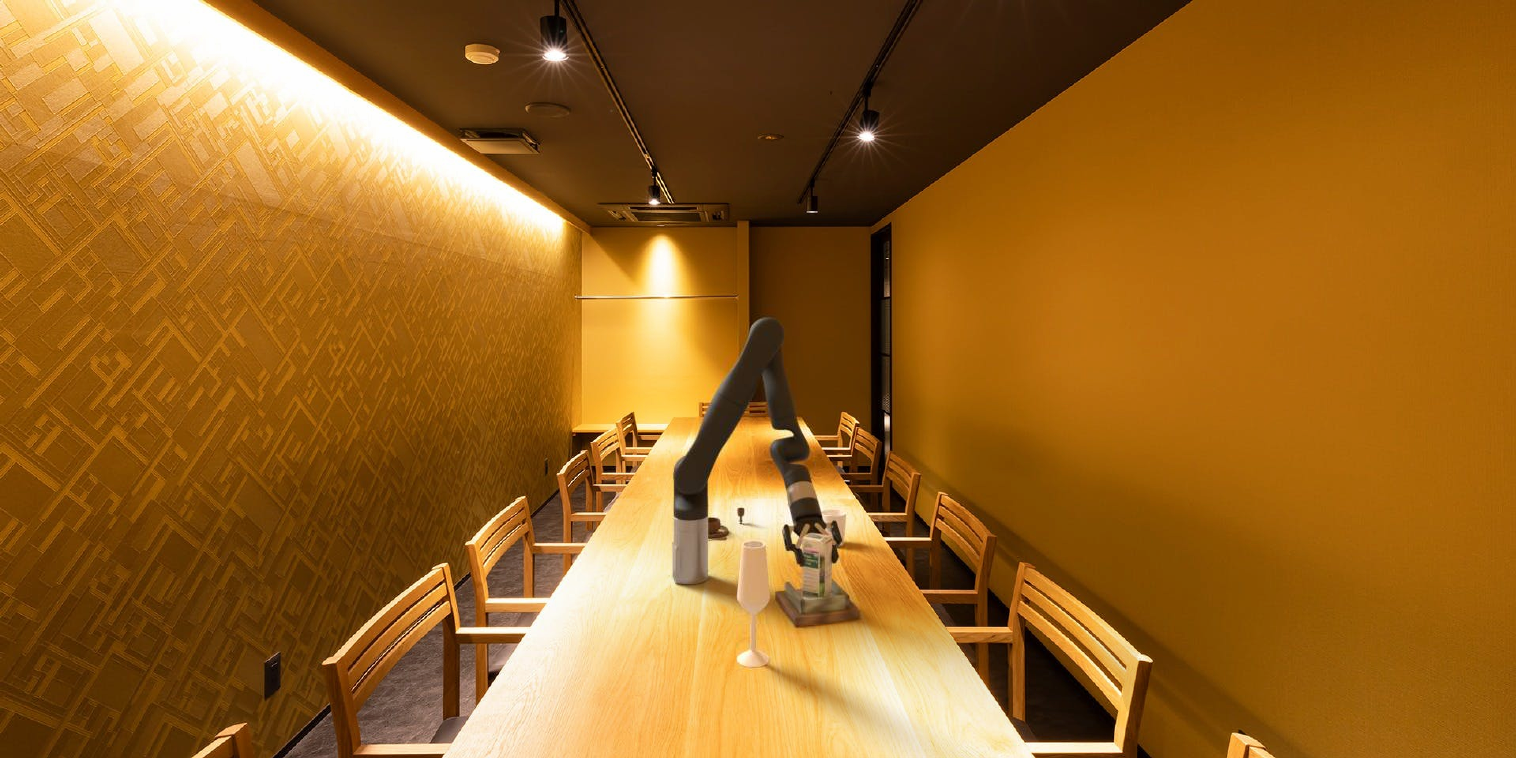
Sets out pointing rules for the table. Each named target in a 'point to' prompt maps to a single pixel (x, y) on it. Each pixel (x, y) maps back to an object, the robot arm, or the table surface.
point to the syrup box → (817, 565)
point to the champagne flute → (753, 595)
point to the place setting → (720, 526)
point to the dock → (816, 606)
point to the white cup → (838, 517)
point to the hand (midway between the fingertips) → (819, 563)
